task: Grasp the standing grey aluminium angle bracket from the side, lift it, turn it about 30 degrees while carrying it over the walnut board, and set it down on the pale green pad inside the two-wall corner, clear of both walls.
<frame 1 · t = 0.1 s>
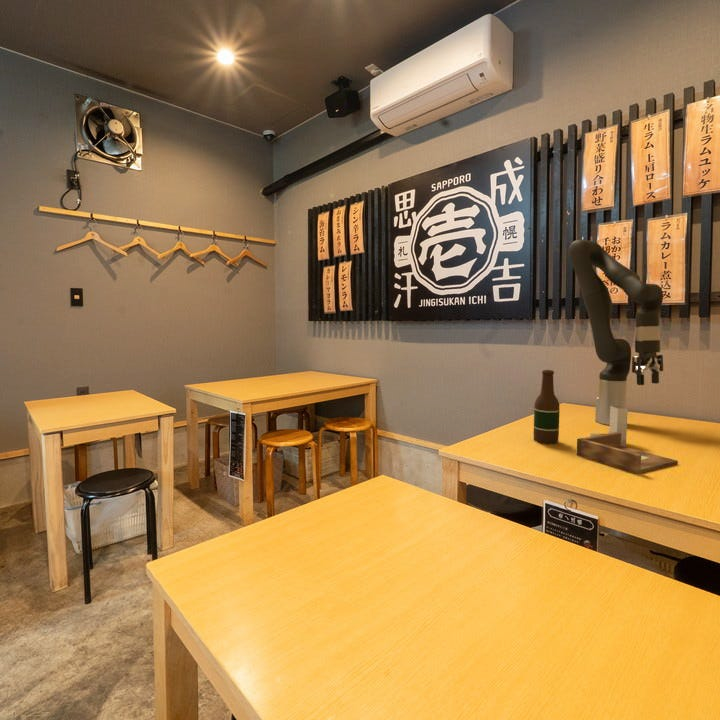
hand: (648, 384, 155), 17 cm above the table, tool pointing down, fingers open, 8 cm apart
walls: (625, 449, 124), on the board, point 3 cm above the table
beer bottle: (545, 441, 144), on the table
bracket: (617, 443, 141), on the table
board: (625, 459, 124), on the table
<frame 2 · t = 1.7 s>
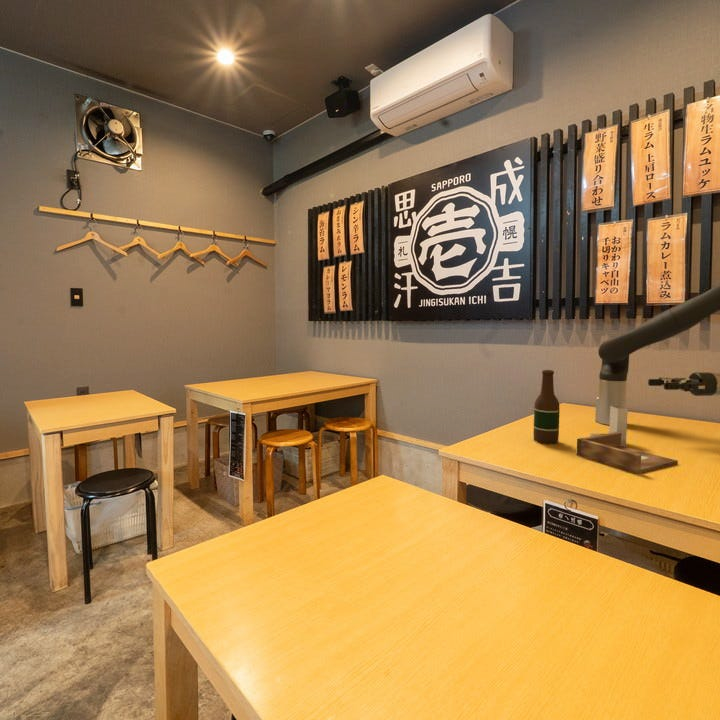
hand: (656, 384, 138), 20 cm above the table, tool horizontal, fingers open, 8 cm apart
nothing on the table moved.
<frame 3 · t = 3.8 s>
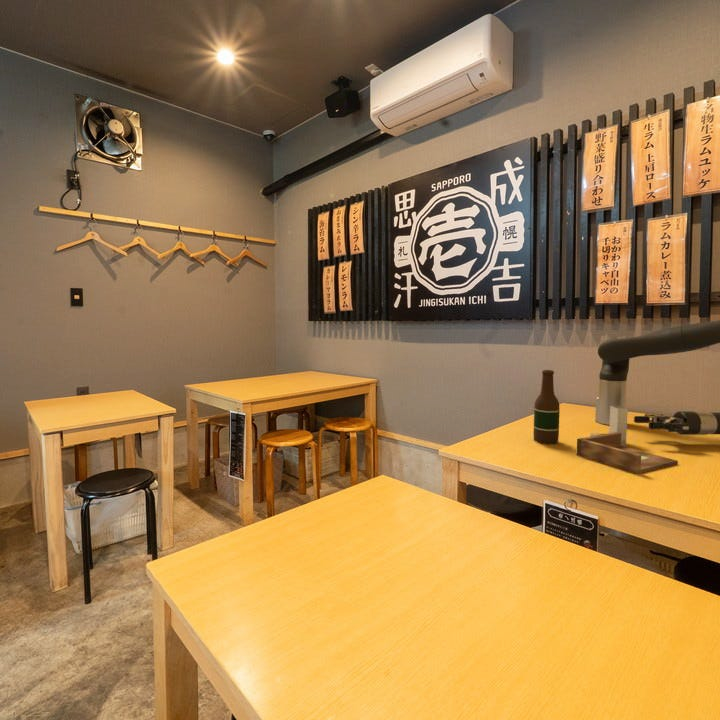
hand: (641, 422, 140), 7 cm above the table, tool horizontal, fingers open, 8 cm apart
nothing on the table moved.
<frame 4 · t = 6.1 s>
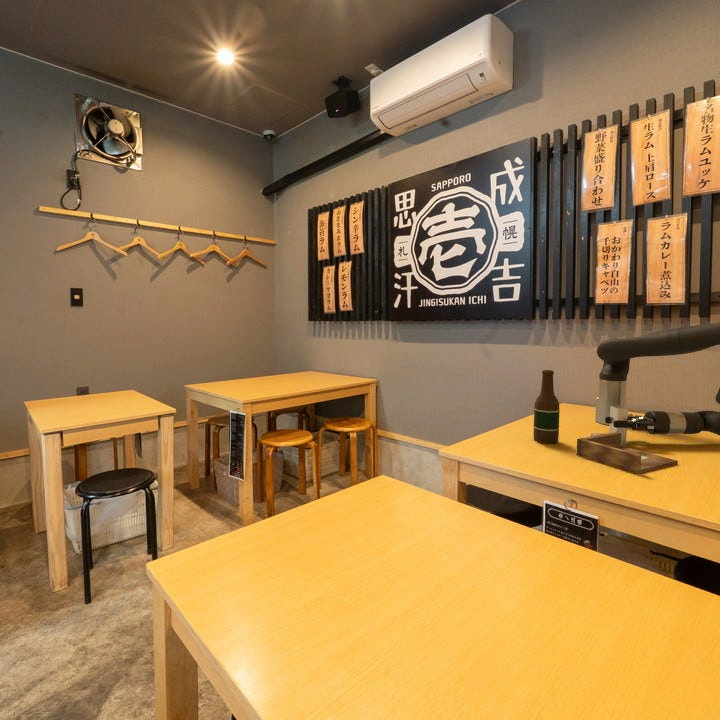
hand: (609, 422, 140), 7 cm above the table, tool horizontal, fingers closed on bracket, 5 cm apart
bracket: (617, 443, 141), on the table, touching gripper
everything else where it was.
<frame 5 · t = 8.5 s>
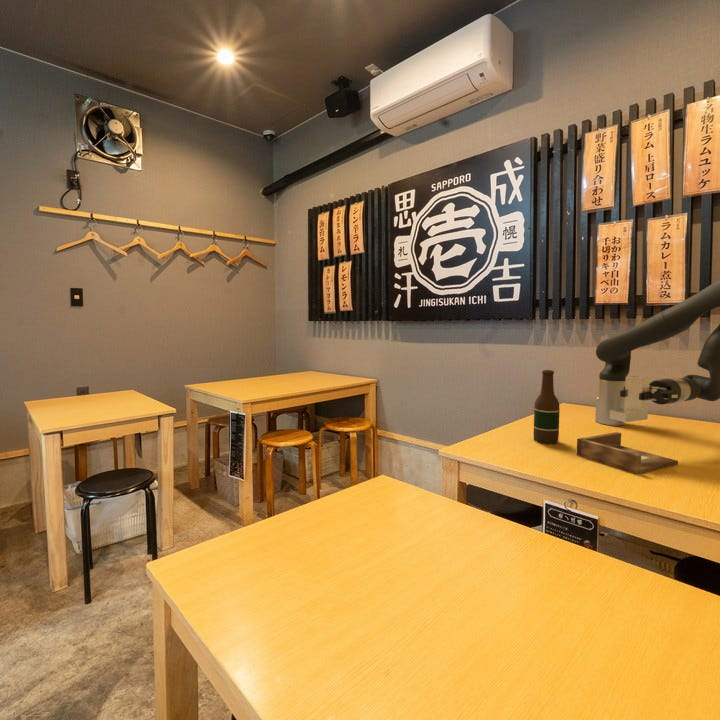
hand: (630, 394, 123), 19 cm above the table, tool horizontal, fingers closed on bracket, 5 cm apart
bracket: (635, 418, 124), point 12 cm above the table, touching gripper
everything else where it was.
when the fingers open (9 cm above the table, at t = 10.9 s): bracket drops 1 cm, resting on board.
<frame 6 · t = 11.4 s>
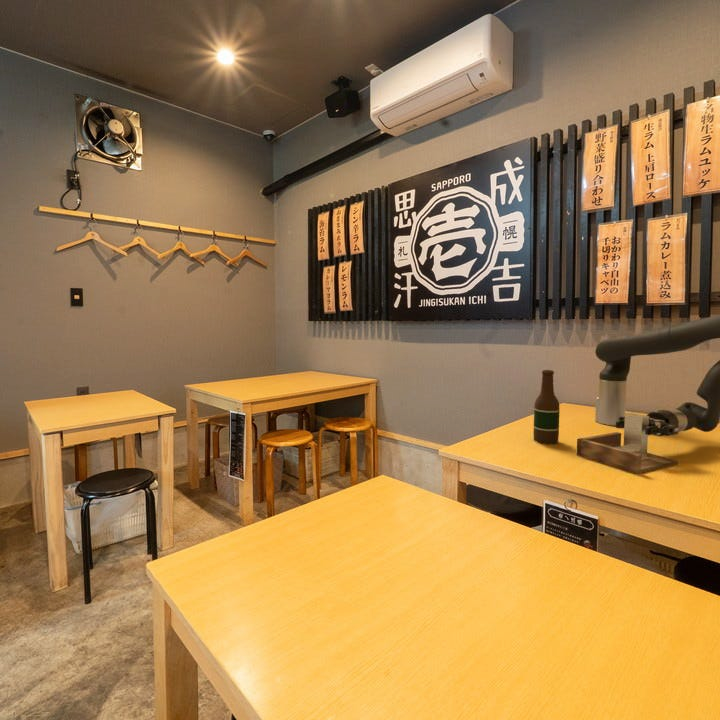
hand: (631, 427, 123), 9 cm above the table, tool horizontal, fingers open, 8 cm apart
bracket: (634, 455, 124), point 1 cm above the table, touching board
everything else where it was.
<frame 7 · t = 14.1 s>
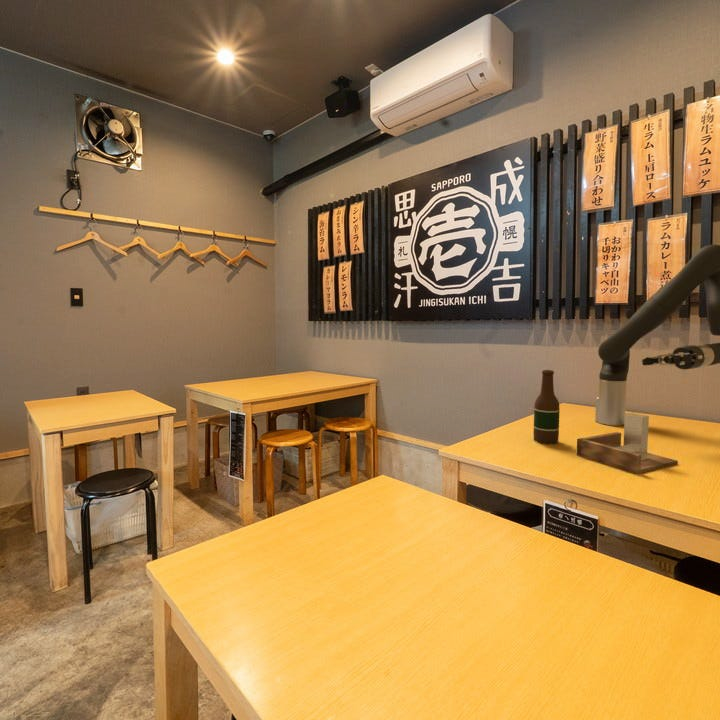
hand: (656, 361, 132), 28 cm above the table, tool horizontal, fingers open, 8 cm apart
nothing on the table moved.
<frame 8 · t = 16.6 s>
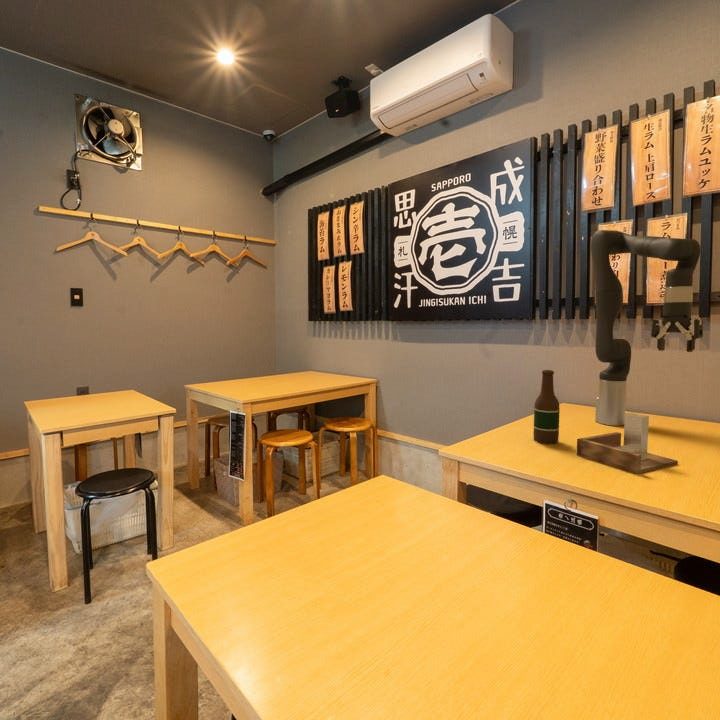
hand: (675, 351, 140), 30 cm above the table, tool pointing down, fingers open, 8 cm apart
nothing on the table moved.
at the end: bracket inside the target area (0.2 cm from its centre), point 1.1 cm above the table; bracket tilted 0°; bracket touching board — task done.
